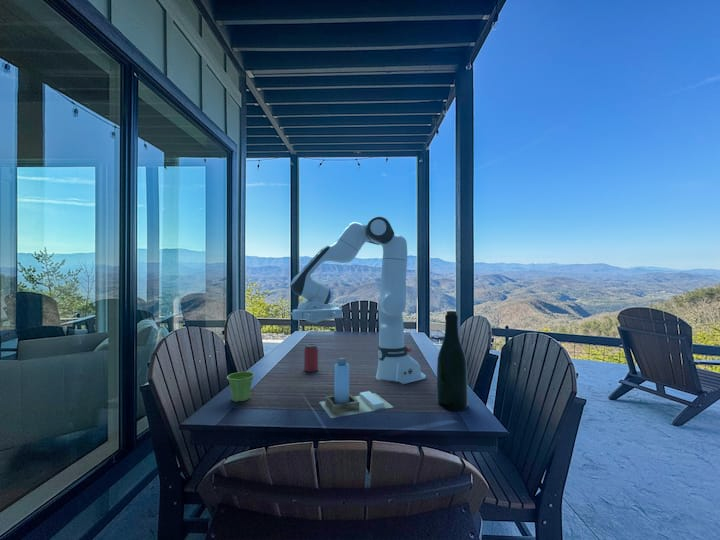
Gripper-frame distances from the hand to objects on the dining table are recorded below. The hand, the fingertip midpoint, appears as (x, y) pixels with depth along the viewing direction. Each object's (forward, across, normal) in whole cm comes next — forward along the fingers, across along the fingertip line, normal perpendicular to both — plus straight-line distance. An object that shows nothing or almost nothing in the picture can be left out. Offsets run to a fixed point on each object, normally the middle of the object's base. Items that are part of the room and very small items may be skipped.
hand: (322, 315), depth 123 cm
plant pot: (-7, -29, +30) cm, 42 cm away
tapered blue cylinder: (+17, +2, +29) cm, 33 cm away
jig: (+17, +7, +30) cm, 35 cm away
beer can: (-33, +4, +30) cm, 45 cm away
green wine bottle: (+28, +39, +30) cm, 57 cm away
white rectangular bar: (+17, +13, +29) cm, 36 cm away
